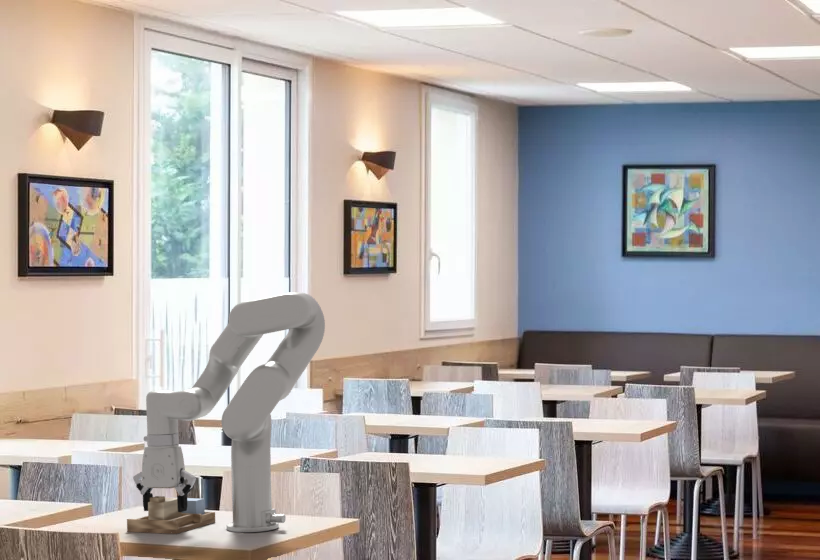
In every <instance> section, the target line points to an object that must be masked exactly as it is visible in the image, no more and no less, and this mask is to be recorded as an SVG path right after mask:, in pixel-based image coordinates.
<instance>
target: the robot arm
mask: <svg viewBox="0 0 820 560" xmlns="http://www.w3.org/2000/svg"><path fill="white" fill-rule="evenodd" d="M325 329H326V320H325V316H324V313H323V310H322V308H321V306H320V303H318V301H317V300H316V299H315V298H314V297H313V296H312V295H310V294H309V293H306V292H299V291H298V292H296V291H295V292H287V293H282V294H277V295H273V296H268V297H264V298H259V299H253V300H247V301H246V300H245V301H242V302H239V303H237V304H235V305H234V306H233V307H232V309H231V310H230V312H229V314H228V323H227V325H226V326H225V328H224V329H223V331H222V332H221V333H220V334H219V336H218V337H217V339H216V340H215V342H214V343H213V344H212V345H211V348H210V350H209V357H208V362H207V365H206V366H205V368H204V370H203V371H202V373H201V374H200V376H199V378H198V379H197V380H196V382H194V384H193V386H192V387H191V388H188V389H184V390H180V391H174V390H170V389H169V390H166V389H162V390H161V389H160V390H159V389H158V390H152V391H149V392H148V393H147V394H146V397H145V403H146V404H145V406H146V407H145V408H146V435H145V436H144V437H143V441H144V442H146V444H147V446H145V447H144V450H143V455H142V456H143V457H142V464H141V471H140V472H139V473H137V474H135V475H133V476H132V478H133V479H132V480H133V481H134V484H135V486H136V488H137V490H138V491H139V493H140V494H141V496H142V506H143V512H148V502H150V498H151V497H154V496H153V493H151V492H152V490H153V489H175V490H176V492H177V493H178V495H177V497H176V498H177V504H178V512H184V511H186V510H187V506H188V505H187V498H188V495H189V494H190V492H191V491H192V489H193V488H194V484H195V482H196V480H197V477H196V476H195V475H193V474H191V473H190V472H188V471H187V470H185V469H186V466H185V459H184V453H183V449H182V446H181V445H179V444H180V443H179V441H180V440H179V421H187V422H188V421H194V420H198V419H200V418H203V417H205V416H207V415H208V414H210V413H211V411H213V410H214V408H215V406H217V404H218V402H220V400H221V398H222V397H223V396H224V395H225V393H226V392H227V390H228V389H229V388H230V385H231V384H232V382H233V380H234V378H235V377H236V375H237V374H238V372H239V370H240V369H241V366H242V365H243V364H244V362H245V360H247V358H248V356H249V355H250V354H251V353H252V351H253V349H254V348H255V347H256V346H257V344H258V343H259V341H260V340H261V338H263V336H264V335H266V334H271V333H275V332H281V331H286V330H288V332H287V334H286V335H285V337H284V338H283V339H282V340H281V341H280V343H279V344H278V346H277V348H276V350H274V352H273V353H272V355H271V356H270V358H269V359H268V360H267V362H265V363H264V364H261V365H259V366H257V367H256V368H254V369H253V370H251V372H250V373H249V375H248V376H247V377H246V379H245V380H244V381H243V383H242V384H241V385H240V387H239V388H238V390H237V391H236V392H235V394H234V395H233V397H232V399H231V400H230V401H229V403H228V405H226V407H225V408H224V411H223V413H222V415H221V428H222V430H223V433H224V434H225V435H226V436H227V437H228V438H230V439H231V449H230V452H231V453H230V454H231V456H230V461H231V462H230V464H231V465H230V466H231V468H230V469H231V499H232V503H231V505H232V522H230V523H227V524H226V530H227V531H229V532H232V533H233V532H234V533H260V532H268V531H272V530H276V529H278V528H279V526H280V525H279V524H284V523H285V522H286V514H284V513H283V514H282V513H280V514H278V513H277V511H276V510H277V509H276V508H273V506H272V503H273V502H272V499H273V498H272V472H271V471H272V470H271V469H272V467H271V464H272V463H271V443H272V442H271V439H272V414H271V413H272V412H273V411H274V410H275V407H277V405H278V403H279V402H281V401H282V400H284V399H286V398H287V397H288V396H289V394H290V393H291V392H292V390H293V388H294V386H295V385H296V383H297V382H298V381H299V379H300V377H301V376H302V374H303V373H304V372H305V370H306V369H307V367H308V366H309V364H310V362H311V361H312V359H313V358H314V357H315V355H316V353H317V351H318V350H319V348H320V346H321V344H322V342H323V339H324V336H325V331H326V330H325ZM186 480H187V483H186ZM185 483H186V484H185Z"/></svg>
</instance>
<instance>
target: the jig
mask: <svg viewBox="0 0 820 560" xmlns="http://www.w3.org/2000/svg"><path fill="white" fill-rule="evenodd" d="M213 523H216V511H205V514H203V515H202V514H192V513H182V517H178V518H175V519H172V520H148V515H145V516H142V517H138V518H128V519H126V532H128V533H129V532H130V533H149V534H150V533H151V534H170V535H171V534H172V535H174V534H175V535H178V534H181V533H184V532H188V531H190V530H193V529H197V528H201V527H204V526H207V525H211V524H213Z"/></svg>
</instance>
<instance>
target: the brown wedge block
mask: <svg viewBox="0 0 820 560" xmlns="http://www.w3.org/2000/svg"><path fill="white" fill-rule="evenodd" d="M147 514H148V515H147V516H148V520H172V519H175V518H178V517H182V512H178V504H177V497H166V496H163V495H157V496H153V497H151V498H150V502H148V511H147Z"/></svg>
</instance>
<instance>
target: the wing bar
mask: <svg viewBox="0 0 820 560" xmlns="http://www.w3.org/2000/svg"><path fill="white" fill-rule="evenodd" d="M187 505H188V506H187V510H186V511H184V512H182V513H192V514H202V515H203V514H205V512H206V511H205V498H192V497H191V498H190V497H187Z"/></svg>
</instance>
